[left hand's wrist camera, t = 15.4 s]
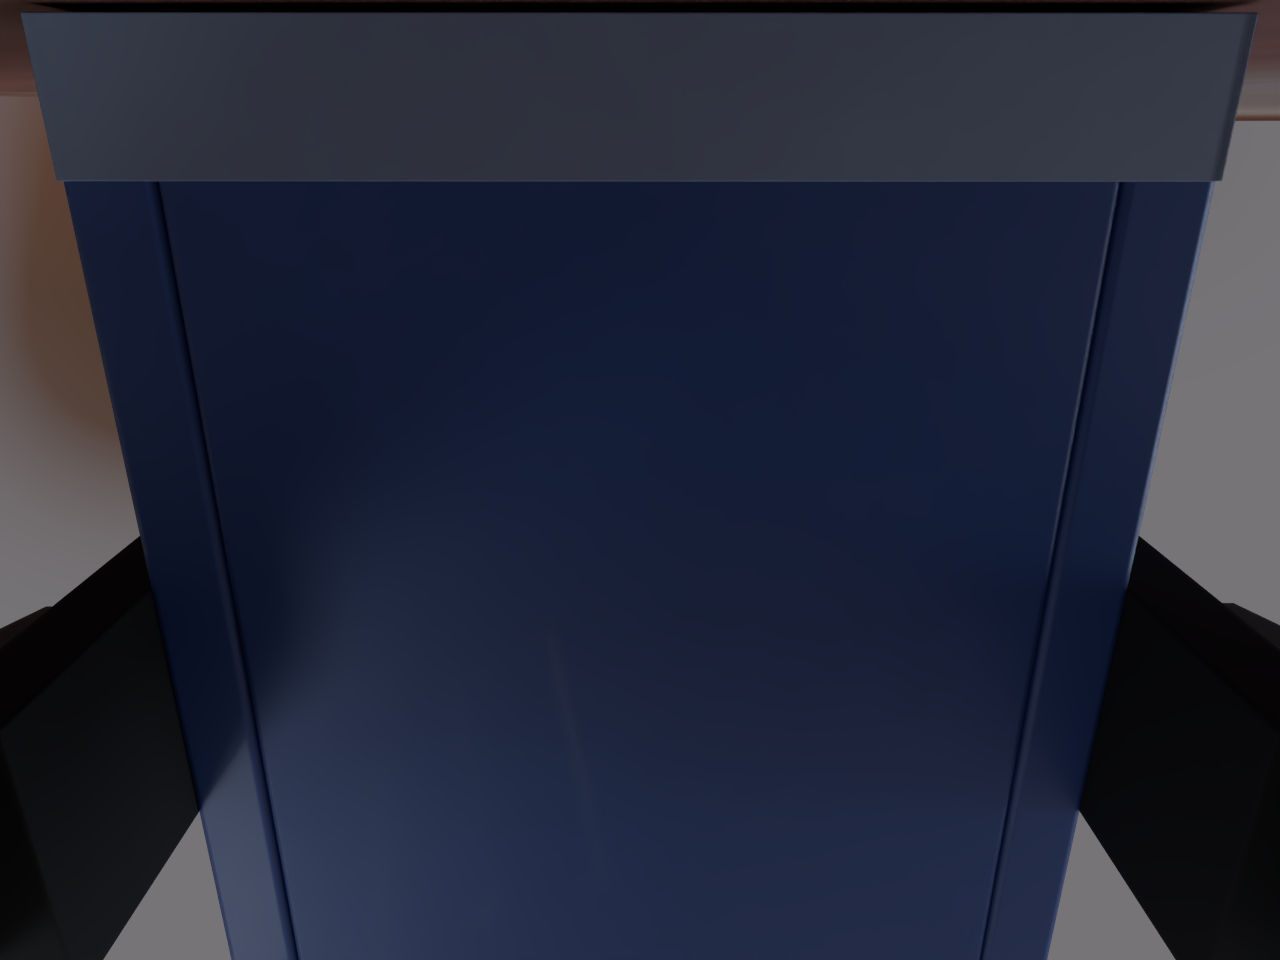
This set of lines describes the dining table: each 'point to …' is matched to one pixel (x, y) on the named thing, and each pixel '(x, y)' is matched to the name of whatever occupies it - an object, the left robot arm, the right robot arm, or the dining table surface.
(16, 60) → the dining table surface
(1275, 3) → the dining table surface
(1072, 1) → the dining table surface
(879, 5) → the dining table surface
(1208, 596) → the left robot arm
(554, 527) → the chest
